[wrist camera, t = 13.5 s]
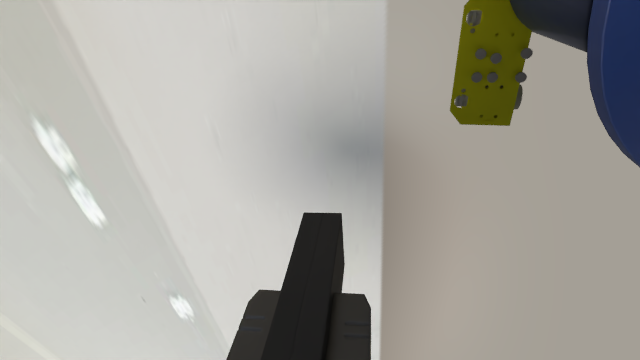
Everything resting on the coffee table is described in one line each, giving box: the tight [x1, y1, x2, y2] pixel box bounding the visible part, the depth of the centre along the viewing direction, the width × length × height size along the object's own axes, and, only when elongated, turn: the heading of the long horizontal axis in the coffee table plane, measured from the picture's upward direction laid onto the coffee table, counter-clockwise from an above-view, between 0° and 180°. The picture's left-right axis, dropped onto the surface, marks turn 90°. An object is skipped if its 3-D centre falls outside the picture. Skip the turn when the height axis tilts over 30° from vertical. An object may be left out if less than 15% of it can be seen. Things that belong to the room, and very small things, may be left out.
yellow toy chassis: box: [450, 0, 533, 126], centre depth 44 cm, size 16×6×8 cm
